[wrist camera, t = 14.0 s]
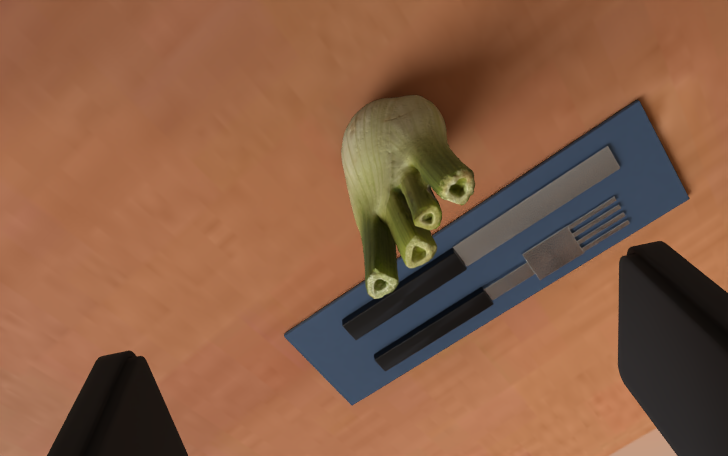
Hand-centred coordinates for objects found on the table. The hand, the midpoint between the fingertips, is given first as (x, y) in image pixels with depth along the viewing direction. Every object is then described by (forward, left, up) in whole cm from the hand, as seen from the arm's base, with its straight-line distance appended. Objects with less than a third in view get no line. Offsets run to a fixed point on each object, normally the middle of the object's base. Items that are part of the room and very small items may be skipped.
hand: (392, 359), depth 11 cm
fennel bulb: (+2, -2, -21) cm, 21 cm away
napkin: (+6, -11, -21) cm, 24 cm away
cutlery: (+6, -11, -21) cm, 24 cm away
